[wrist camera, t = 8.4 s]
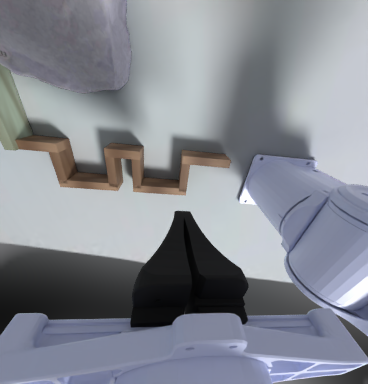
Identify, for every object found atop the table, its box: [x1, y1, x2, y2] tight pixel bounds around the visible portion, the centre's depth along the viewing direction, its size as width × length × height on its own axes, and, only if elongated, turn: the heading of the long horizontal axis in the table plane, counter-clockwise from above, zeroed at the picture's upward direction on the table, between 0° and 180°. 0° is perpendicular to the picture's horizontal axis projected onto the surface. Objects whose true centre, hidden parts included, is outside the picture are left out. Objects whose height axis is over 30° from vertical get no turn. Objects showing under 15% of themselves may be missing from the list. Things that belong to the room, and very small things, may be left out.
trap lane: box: [0, 64, 231, 195], centre depth 16 cm, size 25×22×3 cm
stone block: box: [0, 0, 132, 93], centre depth 13 cm, size 12×5×10 cm
